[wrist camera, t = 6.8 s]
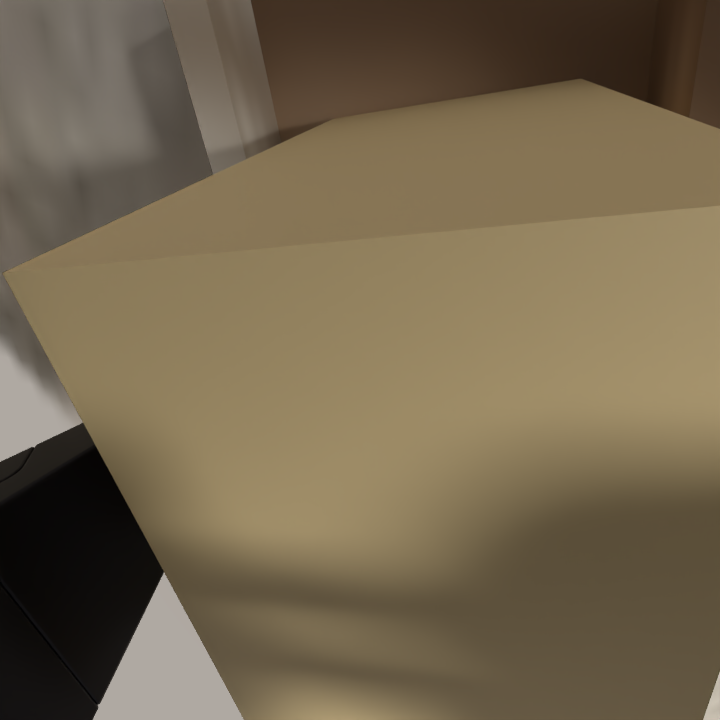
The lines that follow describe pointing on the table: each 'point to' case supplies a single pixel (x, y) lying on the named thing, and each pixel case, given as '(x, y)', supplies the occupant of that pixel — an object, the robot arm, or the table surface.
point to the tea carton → (423, 407)
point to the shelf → (427, 58)
